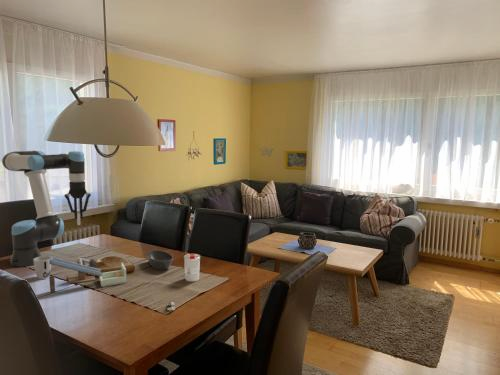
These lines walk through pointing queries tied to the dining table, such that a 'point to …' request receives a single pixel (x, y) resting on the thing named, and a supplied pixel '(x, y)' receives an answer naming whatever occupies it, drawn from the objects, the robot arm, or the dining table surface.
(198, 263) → the white can
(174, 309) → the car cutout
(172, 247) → the dining table surface
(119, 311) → the dining table surface
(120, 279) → the box
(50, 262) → the lever
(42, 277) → the cup
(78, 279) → the stand
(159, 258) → the bowl
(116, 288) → the dining table surface
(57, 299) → the dining table surface
